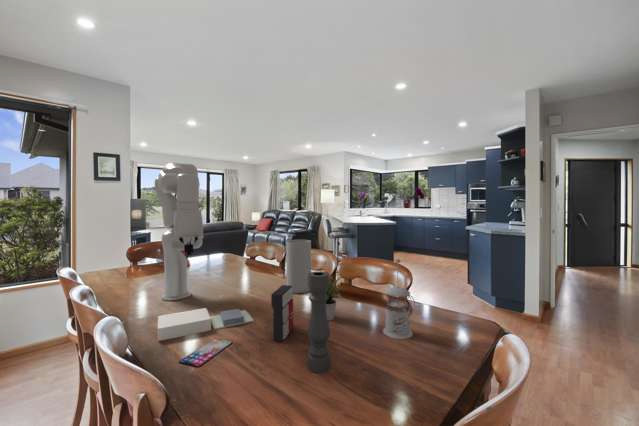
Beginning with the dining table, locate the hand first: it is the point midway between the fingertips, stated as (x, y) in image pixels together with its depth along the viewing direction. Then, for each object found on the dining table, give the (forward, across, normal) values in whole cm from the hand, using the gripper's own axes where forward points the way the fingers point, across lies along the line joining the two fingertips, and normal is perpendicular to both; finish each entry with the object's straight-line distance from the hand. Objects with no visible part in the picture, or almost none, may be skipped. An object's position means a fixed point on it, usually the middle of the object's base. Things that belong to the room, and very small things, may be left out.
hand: (188, 254), depth 109 cm
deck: (+24, +3, +11) cm, 27 cm away
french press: (+23, -60, +51) cm, 82 cm away
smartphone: (+24, -2, +32) cm, 40 cm away
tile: (+22, -13, +12) cm, 28 cm away
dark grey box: (+23, -26, +32) cm, 48 cm away
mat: (+24, -13, +11) cm, 30 cm away
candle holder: (+22, -26, +55) cm, 65 cm away
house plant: (+24, -47, +29) cm, 60 cm away
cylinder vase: (+25, -52, -9) cm, 58 cm away
